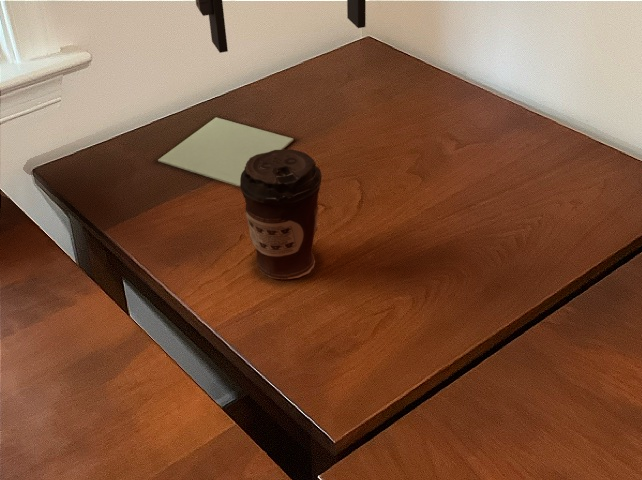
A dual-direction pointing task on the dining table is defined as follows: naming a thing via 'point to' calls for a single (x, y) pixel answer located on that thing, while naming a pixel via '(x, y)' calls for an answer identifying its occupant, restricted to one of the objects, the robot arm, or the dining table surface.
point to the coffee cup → (282, 210)
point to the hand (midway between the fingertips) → (289, 34)
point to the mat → (223, 149)
